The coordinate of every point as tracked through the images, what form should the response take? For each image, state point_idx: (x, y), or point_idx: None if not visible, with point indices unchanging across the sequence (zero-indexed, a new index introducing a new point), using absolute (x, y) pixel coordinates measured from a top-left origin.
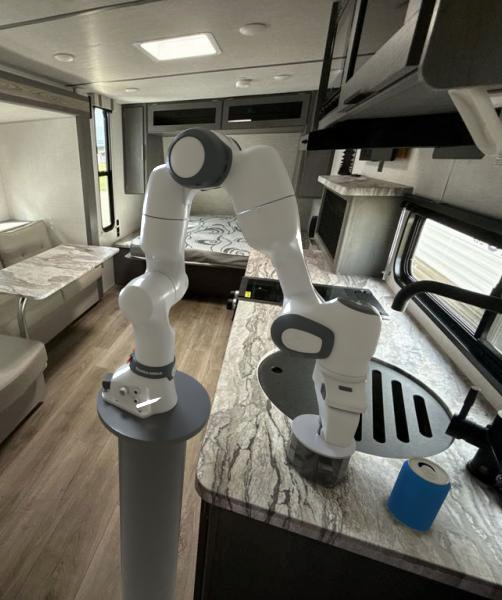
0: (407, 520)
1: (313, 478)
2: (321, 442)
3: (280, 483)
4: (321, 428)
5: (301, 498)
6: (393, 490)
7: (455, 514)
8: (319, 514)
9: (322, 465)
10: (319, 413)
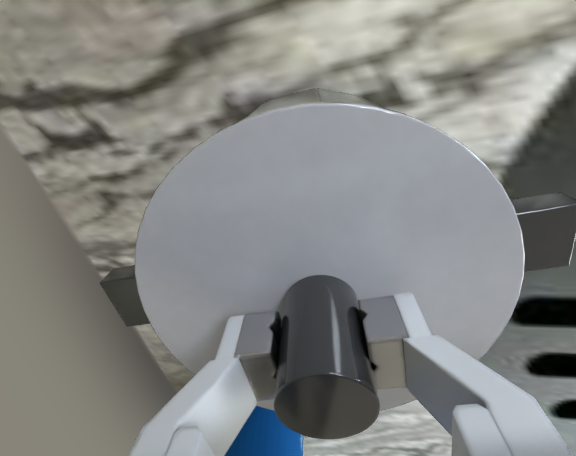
0: None
1: None
2: (230, 301)
3: (113, 104)
4: (251, 353)
5: (115, 184)
6: (247, 423)
7: (331, 444)
8: (106, 235)
9: (124, 291)
10: (430, 356)
